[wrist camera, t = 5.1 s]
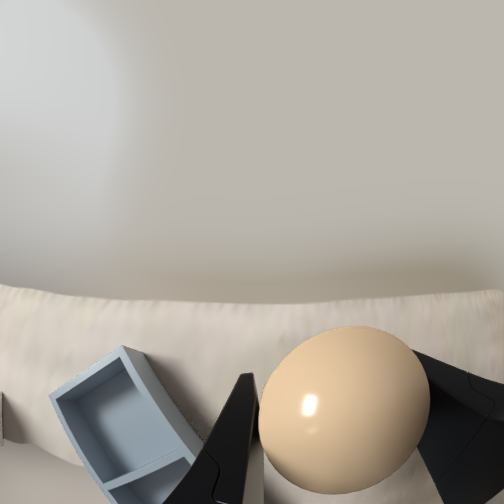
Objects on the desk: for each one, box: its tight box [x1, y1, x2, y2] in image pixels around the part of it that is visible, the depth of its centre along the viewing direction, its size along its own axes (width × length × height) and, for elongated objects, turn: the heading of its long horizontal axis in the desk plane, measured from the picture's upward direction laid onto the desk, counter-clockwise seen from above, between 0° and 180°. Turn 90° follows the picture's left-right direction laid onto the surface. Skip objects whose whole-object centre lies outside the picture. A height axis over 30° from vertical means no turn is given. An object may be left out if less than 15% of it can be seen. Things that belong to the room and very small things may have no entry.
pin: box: [259, 326, 430, 494], centre depth 10 cm, size 4×4×10 cm
